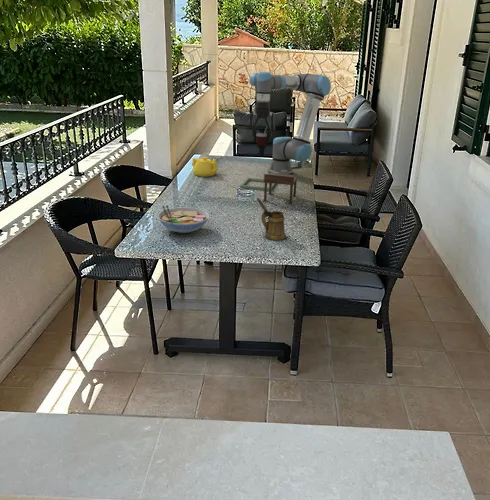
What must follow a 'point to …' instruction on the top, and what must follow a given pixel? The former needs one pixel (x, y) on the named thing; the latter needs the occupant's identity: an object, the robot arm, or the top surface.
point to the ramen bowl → (183, 219)
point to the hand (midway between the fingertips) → (261, 142)
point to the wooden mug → (273, 223)
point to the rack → (280, 179)
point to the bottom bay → (254, 186)
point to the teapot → (204, 167)
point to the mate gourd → (261, 139)
